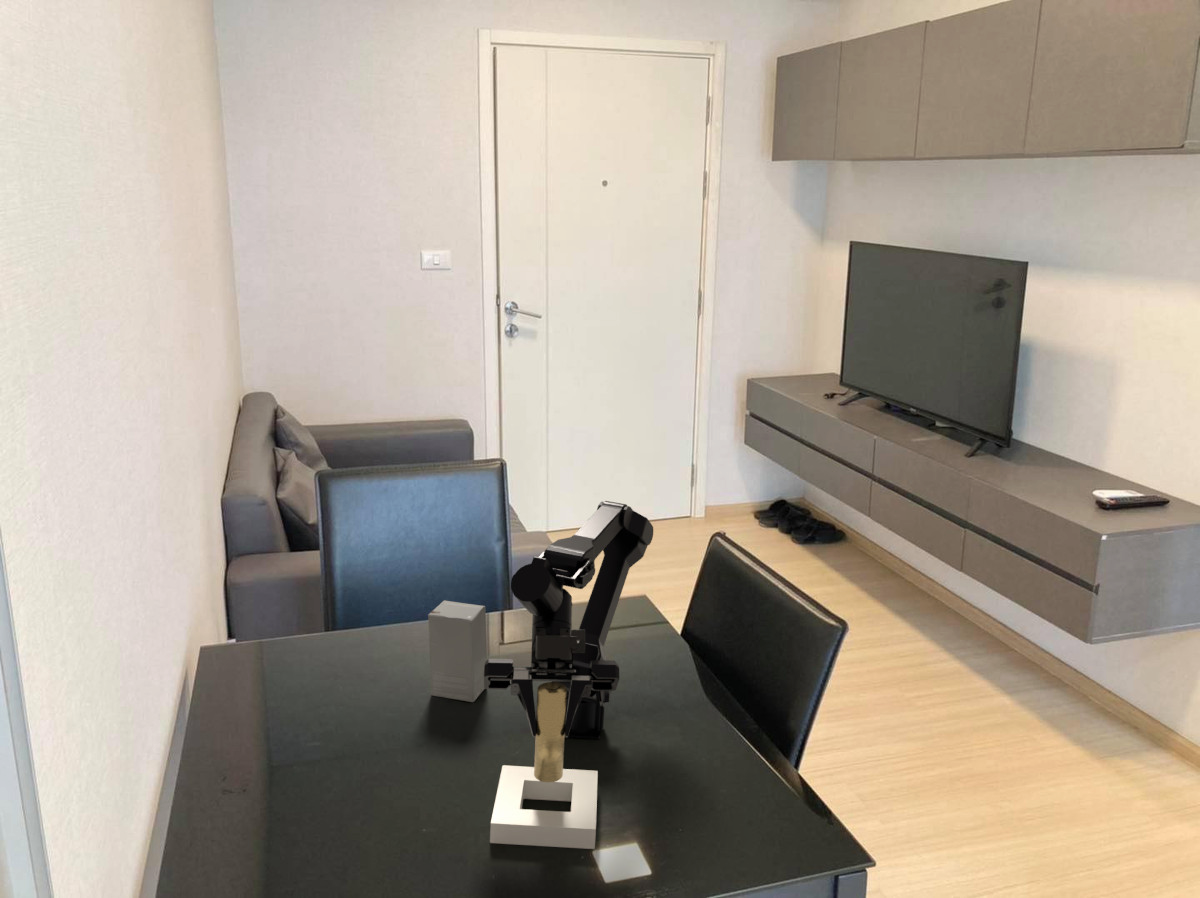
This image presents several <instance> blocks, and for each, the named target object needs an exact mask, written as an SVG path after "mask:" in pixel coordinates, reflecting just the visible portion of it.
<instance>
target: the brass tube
mask: <svg viewBox="0 0 1200 898" xmlns="http://www.w3.org/2000/svg"><path fill="white" fill-rule="evenodd" d="M536 693H537V695H536V697H537V698H536V713H535V716H536V737H534V738H535V744H534V766H533V767H534V776H535V778H536V779H538V780H539V781H542V782H555V781H558V780H560V779H561V778H562V776H563V769H564V758H565V755H564V753H565V738H566V737H565V719H566V699H567V688H566V687H565V686H564V685H563V684H560V683H556V682H552V681H546V682H543V683H541V684H539V685H538V686H537V692H536Z"/></svg>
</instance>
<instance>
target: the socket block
mask: <svg viewBox="0 0 1200 898" xmlns="http://www.w3.org/2000/svg"><path fill="white" fill-rule="evenodd" d="M598 773H599V772H598V770H592V769H591V770H589V769H588V770H587V769H575V768H572V769H571V768H570V769H569V768H568V769H567V768H563V776H562V778H561V779H560V780H558V781H555V782H542V781H539V780H538V779H536V778H535V776H534V766H521V765H520V766H519V765H505V764H504V765H502V766H501V772H500V776H499V780H498V785H497V791H496V795H495V801H494V806H493V810H492V815H491V820H490V829H489V830H490V832H489V833H490V834H489V843H490V844H503V845H515V846H516V845H518V846H519V845H520V846H535V847H553V848H555V847H556V848H569V849H584V850H585V849H587V850H595V848H596V834H597V831H596V830H597V811H598V810H597V809H598V808H597V805H598V804H597V803H598V802H597V801H598V777H599V775H598ZM525 799H526V800H537V801H538V800H540V801H541V800H542V801H557V802H571V805H570V811H558V810H557V811H556V810H545V809H544V810H541V809H540V810H538V809H527V808H526V809H524V808H523V803H524V800H525Z"/></svg>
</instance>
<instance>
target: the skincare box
mask: <svg viewBox="0 0 1200 898" xmlns="http://www.w3.org/2000/svg"><path fill="white" fill-rule="evenodd" d="M486 614H487V613H486V606H485V605H481V604H480V605H478V604H473V603H472V604H471V603H464V602H457V601H452V600H451V601H450V600H443V601H442V602H441V603H440V604H439V605H437V606H436V607H435V608H434V609H433V610H432V611H430V612H429V613H428V614H427V617H428V619H427V620H428V637H429V640H428V641H429V643H428V644H429V662H430V663H429V664H430V665H429V666H430V669H429V670H430V693H431V694H430V695H431V696H433V697H438V698H439V697H440V698H445V699H452V700H456V701H457V700H458V701H462V702H463V701H465V702H470V703H474V702H475V701H476V700H477V698H479V697H480V695H481V694H482V693H483V692H484V690H485V689H486V688H484V666H485V662H486V661H487V660H488V659H487V657H488V655H487V621H486V616H487V615H486Z"/></svg>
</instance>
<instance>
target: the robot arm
mask: <svg viewBox="0 0 1200 898" xmlns="http://www.w3.org/2000/svg"><path fill="white" fill-rule="evenodd" d="M653 536H654V526H653V525H652V523H651V522H650V520H649V519H648V517H646V516H644V515H641V514H640V513H638V512H637V511H635V510H634V509H633V508H632V507H631V506H628V505H627V504H626V503H620V502H617V501H616V502H614V501H608V500H604V501H600V502H599V503H598V506H597V509H596V511H595V512H594V513H593V514H592V515H591V516H590V517H589V518H588V519H587V520H586V521H585V522H584V524H583V525H582V526H580V527H579V529H578V530H577V531H576V532H575V533H573V535H572V536H570V537H564V538H559V539H557V540H556V541H554V542H552V543H551V544H549V545H548V546H547V548H546V549H545V550H544V551H542V553H540V555H539V556H533V558H532V560H531V563H528V564H526V565H525V564H524V565H522V566H521V567H520V568H519V569H518V570H517V571H516V572H515V573H514V574H513V575H512V578H511V581H510V590H511V593H512V594H513V596H514V597H515V598H516V600H517V601H519V603H520V604H521V605H522V606H523V607H524V608H525V609H526V611H527V612H528V613H530V614H532V619H531V621H532V622H531V624H532V625H531V654H530V655H531V657H530V659H531V660H530V663H531V664H530V665H531V666H513V665H514V659H513V658H488V659H487V661H486V662H485V666H484V688H485V689H487V690H508V689H509V688H510V695H511V696H517V697H518V700H519V702H520V704H521V705H522V707H523V710H524V713H525V715H526V719H527V722H528V725H529V728H530V732H531V735H532V738H535V737H536V707H535V700H534V698H535V697H534V685H533V684H534V683H533V682H556V683H560V684H563V685H564V686H565V687H566V688H567V699H566V719H565V738H573V739H575V738H576V739H591V740H600V738H601V731H603V730H604V721H605V720H604V718H605V706H606V705H605V704H606V703H609V702H610V701H611V697H612V696H611V695H612V692H614V691H616V690H617V688H618V685H619V681H620V665H619V663H617V661H615V660H607V656H606V651H605V647H604V646H605V643H606V641H607V637H608V635H609V631H610V628H611V626H612V625H611V624H612V621H613V619H614V615H615V613H616V610H617V607H618V604H619V601H620V598H621V595H622V592H623V589H624V585H625V583H626V580H627V578H628V577H627V576H628V575H629V570H630V569H631V568H632V567H633V566H635V564H637V562H639V561H641V559H643V557H644V556H645V553H646V550H647V549H648V546H650V545H651V543H652V541H653ZM602 552H603V558H602V561H601V564H600V567H599V569H598V573H597V576H596V579H595V581H594V584H593V588H592V591H591V593H590V595H589V599H588V602H587V605H586V606H585V607H586V608H585V610H584V614H583V616H582V618H581V621H580V624H579V628H578V629H573V623H572V621H573V619H572V617H573V615H572V614H573V613H572V611H573V608H572V607H573V598H572V595H571V594H570V593H569V591H568V590H567V589H565V588H564V587H570V588H575V589H578V590H579V589H580V590H583V589H584V588H585V587H587V585H588V584H589V583H590V582H591V581H592V580H593V577H594V576H595V574H596V565H595V560H596V559H597V558H598V556H599V555H600V554H601V553H602Z"/></svg>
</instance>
